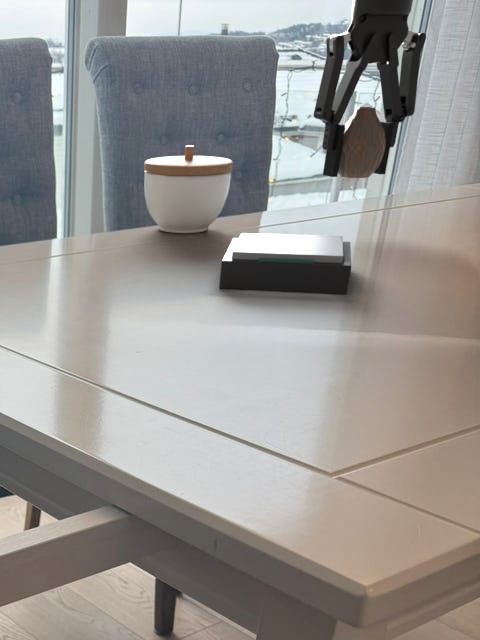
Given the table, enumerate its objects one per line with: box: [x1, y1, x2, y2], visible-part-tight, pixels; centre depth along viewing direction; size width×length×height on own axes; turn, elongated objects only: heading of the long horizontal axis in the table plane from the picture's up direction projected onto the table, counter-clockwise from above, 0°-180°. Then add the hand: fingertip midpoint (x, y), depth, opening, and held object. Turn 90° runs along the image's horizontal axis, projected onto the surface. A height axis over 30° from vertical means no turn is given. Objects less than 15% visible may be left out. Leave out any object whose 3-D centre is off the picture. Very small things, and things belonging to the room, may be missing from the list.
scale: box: [218, 232, 352, 295], centre depth 110 cm, size 14×14×4 cm
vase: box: [338, 106, 386, 179], centre depth 132 cm, size 7×7×9 cm
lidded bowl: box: [143, 144, 234, 234], centre depth 136 cm, size 13×13×11 cm
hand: (353, 174), depth 134 cm, fingers closed on vase, 7 cm apart
